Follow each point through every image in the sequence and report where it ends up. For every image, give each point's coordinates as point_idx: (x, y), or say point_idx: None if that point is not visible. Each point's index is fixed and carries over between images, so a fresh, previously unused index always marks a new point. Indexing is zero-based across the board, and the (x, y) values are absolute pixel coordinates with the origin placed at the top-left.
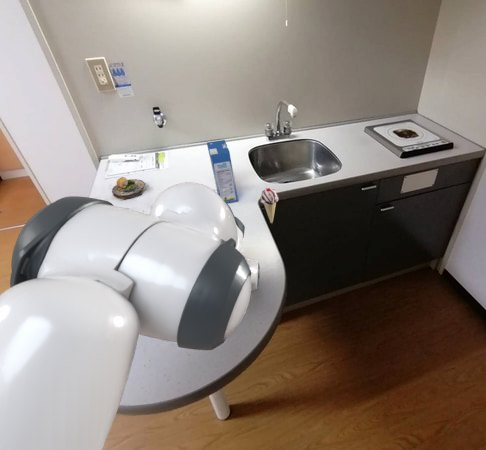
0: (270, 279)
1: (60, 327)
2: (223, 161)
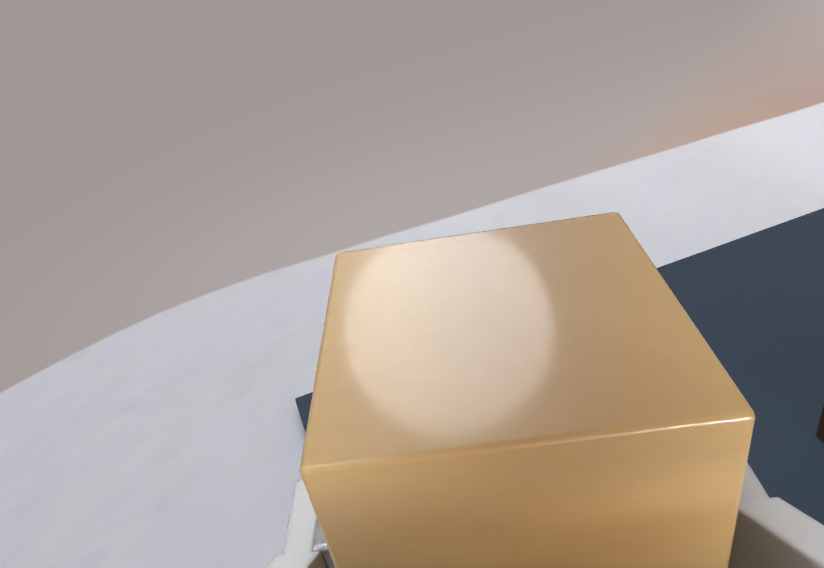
0: None
1: None
2: None
